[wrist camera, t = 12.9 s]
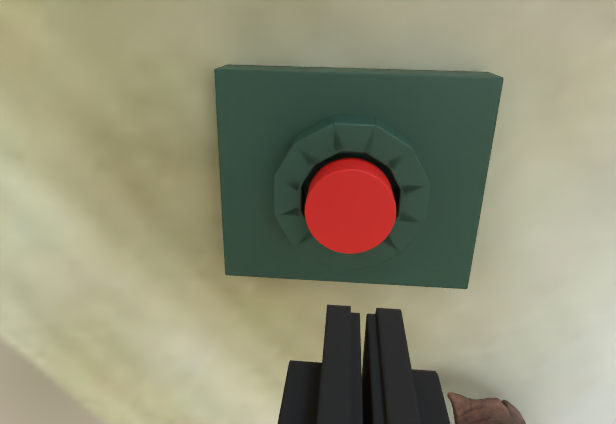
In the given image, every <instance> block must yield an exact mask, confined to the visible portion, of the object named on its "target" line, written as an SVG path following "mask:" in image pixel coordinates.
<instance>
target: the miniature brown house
mask: <svg viewBox="0 0 616 424" xmlns="http://www.w3.org/2000/svg"><path fill="white" fill-rule="evenodd" d="M447 395H448V398H449V399H450V401H451V403H452V407H453V413H454V418H455V424H526V423H525V421H524V419H523V417H522V416H521V414H520V413H519V411H518V410H517V409H516V408H515V407H514V406H513V405H512V404H510V403H509V402H508V401H506V400H503V401H500V400H499V399H498V398H486V399H479V400H475V399H470V398H466V397H464V396H462V395H459V394H454V393H448V394H447Z"/></svg>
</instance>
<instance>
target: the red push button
mask: <svg viewBox="0 0 616 424" xmlns="http://www.w3.org/2000/svg"><path fill="white" fill-rule="evenodd" d="M304 211H305V220H306V223H307V226H308V228H309V230H310V232H311V234H312V235H313V236H314V238H315V239H316V240H317V241H318V242H319V243H321V244H322V245H323V246H325V247H327V248H329V249H331V250H333V251H336V252H340V253H346V254H354V253H361V252H365V251H368V250H370V249H372V248H374V247H376V246H377V245H379V244H380V243H381V242H382V241H383V240H385V238H386V237H387V236H388V235H389V233H390V232H391V230H392V228H393V226H394V223H395V219H396V203H395V200H394V196H393V192H392V188H391V185H390V182H389V180H388V178H387V177H386V175H385V174H384V172H383V171H382V170H381V169H380V168H379V167H377V166H376V165H374V164H373V163H371V162H369V161H367V160H364V159H360V158H353V157H349V158H340V159H337V160H334V161H332V162H330V163H328V164H326V165H325V166H323V167H322V168H321V169H320V170H319V171H318V172H317V173H316V174H315V176H314V177H313V179H312V181H311V183H310V186H309V190H308V194H307V199H306V203H305V210H304Z"/></svg>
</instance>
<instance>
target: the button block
mask: <svg viewBox="0 0 616 424" xmlns="http://www.w3.org/2000/svg"><path fill="white" fill-rule="evenodd" d="M214 72H215V90H216V109H217V128H218V147H219V165H220V184H221V203H222V222H223V240H224V259H225V274H226V275H233V276H250V277H267V278H285V279H302V280H319V281H337V282H354V283H372V284H389V285H406V286H424V287H441V288H458V289H467V288H468V282H469V276H470V271H471V265H472V259H473V253H474V247H475V241H476V236H477V230H478V224H479V218H480V212H481V206H482V201H483V195H484V189H485V183H486V177H487V171H488V166H489V160H490V154H491V148H492V142H493V136H494V131H495V125H496V119H497V113H498V107H499V102H500V96H501V90H502V84H503V77H500V76H498V75H495V74H492V73H489V72H468V71H432V70H396V69H360V68H325V67H289V66H253V65H226V66H223V67H220V68H217V69H215V70H214ZM349 157H353V158H360V159H364V160H367V161H369V162H371V163H373V164H374V165H376V166H377V167H379V168H380V169H381V170H382V171H383V172H384V174H385V175H386V177H387V178H388V180H389V182H390V185H391V188H392V192H393V196H394V200H395V203H396V219H395V223H394V226H393V228H392V230H391V232H390V233H389V235H388V236H387V237H386V238H385V240H383V241H382V242H381V243H380V244H379V245H377V246H376V247H374V248H372V249H370V250H368V251H365V252H361V253H354V254H346V253H340V252H336V251H333V250H331V249H329V248H327V247H325V246H323V245H322V244H321V243H319V242H318V241H317V240H316V239H315V238H314V236H313V235H312V234H311V232H310V230H309V228H308V226H307V223H306V220H305V211H304V210H305V203H306V199H307V194H308V190H309V186H310V183H311V181H312V179H313V177H314V176H315V174H316V173H317V172H318V171H319V170H320V169H321V168H322V167H323V166H325V165H326V164H328V163H330V162H332V161H334V160H337V159H340V158H349Z"/></svg>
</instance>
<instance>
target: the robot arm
mask: <svg viewBox="0 0 616 424" xmlns="http://www.w3.org/2000/svg"><path fill="white" fill-rule="evenodd" d="M278 424H450V421H449V417H448V413H447V409H446V405H445V401H444V397H443V393H442V389H441V385H440V381H439V377H438V374H437V373H436V371H426V370H412V369H411V364H410V358H409V352H408V347H407V341H406V335H405V330H404V324H403V318H402V313H401V310H400V309H385V308H376V314H367V317H366V329H365V342H364V355H363V367H362V373H361V339H360V313H351V306H339V305H327V314H326V325H325V337H324V348H323V360H322V363H318V362H304V361H291V360H290V362H289V366H288V371H287V376H286V382H285V387H284V392H283V398H282V403H281V409H280V414H279V419H278Z"/></svg>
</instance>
